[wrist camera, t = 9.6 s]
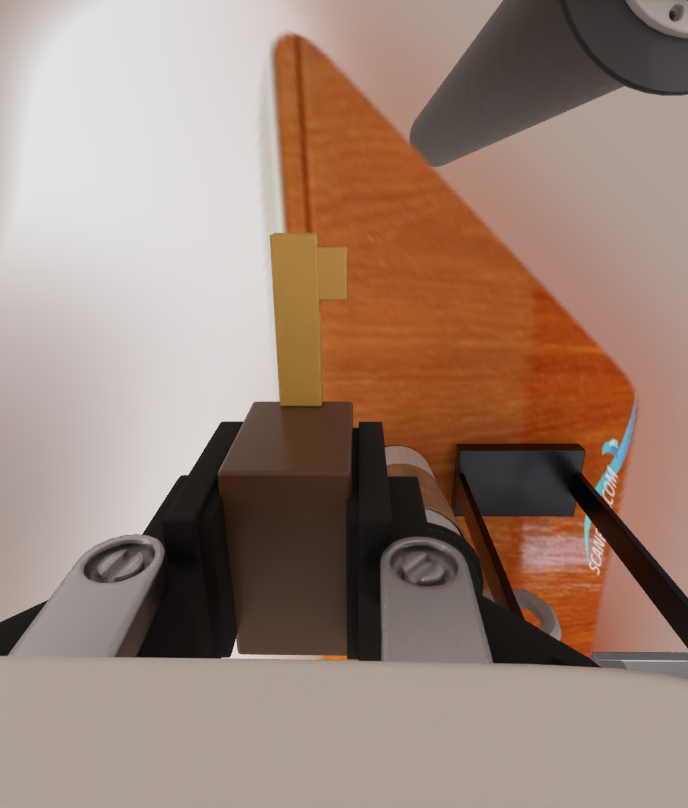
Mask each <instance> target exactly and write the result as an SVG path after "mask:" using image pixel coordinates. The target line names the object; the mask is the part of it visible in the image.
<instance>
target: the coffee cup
mask: <svg viewBox="0 0 688 808" xmlns="http://www.w3.org/2000/svg"><path fill="white" fill-rule="evenodd" d="M385 454H386V464H387V473H388V476H417V477H418V480H419V485H420V489H421V494H422V499H423V503H424V508H425V513H426V517H427V522H428V527H429V531H430V536H431V538H434V539H437V540H441V541H444V542H446V543H448V544H449V545H451V546H453V547H455V548H456V549H457V550H458V551H459V552H460V553H461V554H462V555H463V556H464V558H465V560H466V562H467V565H468V569H469V573H470V576H471V580H472V584H473V588H474V590H475V591H476V592H478V593H480V594H481V595H482V593H483V576H482V568H481V564H480V560H479V558H478V556H477V554H476V552H475V550H474V549H473V548H472V547H471V545H470V544H469V543H468V542H467V541H466V538H465V536H464V534H463V532H462V530H461V528H460V526H459V524H458V522H457V520H456V518H455V516H454V514H453V512H452V510H451V508H450V506H449V504H448V502H447V500H446V498H445V497H444V495H443V493H442V491H441V489H440V487H439V485H438V483H437V481H436V479H435V477H434V475H433V473H432V470H431V468H430V466H429V464H428V463H427V461H426V460H425V458H424V457H423V456H422V455H421V454H419V453H418V452H417V451H415V450H413V449H411V448H407V447H404V446H389V447H385Z"/></svg>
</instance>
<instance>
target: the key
mask: <svg viewBox="0 0 688 808" xmlns="http://www.w3.org/2000/svg"><path fill="white" fill-rule="evenodd" d="M270 246H271V262H272V279H273V296H274V312H275V329H276V346H277V362H278V379H279V395H280V402H254V403H253V405H252V407H251V409H250V411H249V413H248V414H247V416H246V419H245V420H244V422H243V424H242V426H241V428H240V430H239V432H238V434H237V436H236V438H235V440H234V442H233V444H232V446H231V448H230V450H229V452H228V454H227V456H226V458H225V460H224V462H223V463H222V465H221V467H220V469H219V471H218V474H217V475H218V484H219V492H220V497H221V498H222V504H223V513H224V522H225V530H226V539H227V548H228V557H229V565H230V574H231V583H232V592H233V600H234V609H235V618H236V627H237V636H236V639H237V648H238V652H239V653H240V654H262V655H267V654H268V655H338V656H347V593H346V506H347V498H350V497H351V491H352V441H353V405H352V403H351V402H323V378H322V340H321V302H320V301H321V300H347V296H348V287H347V247H346V246H319V235H318V233H274V234H271V235H270Z"/></svg>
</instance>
